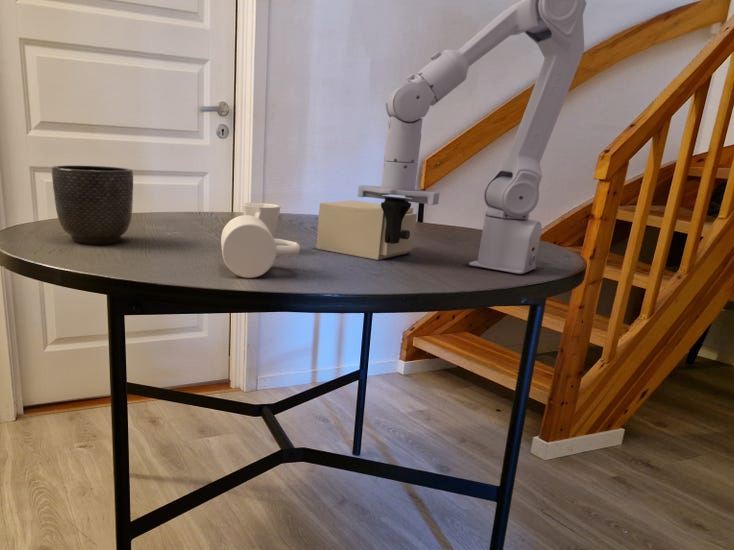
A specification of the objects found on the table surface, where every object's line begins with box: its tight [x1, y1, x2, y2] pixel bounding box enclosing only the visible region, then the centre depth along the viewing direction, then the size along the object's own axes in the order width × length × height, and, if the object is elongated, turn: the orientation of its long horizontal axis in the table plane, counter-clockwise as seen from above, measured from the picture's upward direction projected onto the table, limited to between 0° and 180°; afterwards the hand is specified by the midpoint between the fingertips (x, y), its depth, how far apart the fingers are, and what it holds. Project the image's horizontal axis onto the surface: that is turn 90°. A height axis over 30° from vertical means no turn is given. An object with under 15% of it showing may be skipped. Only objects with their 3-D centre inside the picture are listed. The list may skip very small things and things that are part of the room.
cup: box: [241, 202, 281, 238], centre depth 112 cm, size 7×10×8 cm
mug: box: [220, 214, 301, 279], centre depth 94 cm, size 12×10×8 cm
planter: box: [51, 165, 134, 246], centre depth 111 cm, size 14×14×13 cm
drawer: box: [380, 212, 418, 256], centre depth 116 cm, size 14×10×7 cm
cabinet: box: [316, 199, 414, 261], centre depth 117 cm, size 14×12×9 cm
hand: (391, 242), depth 109 cm, fingers closed, pressing on drawer
